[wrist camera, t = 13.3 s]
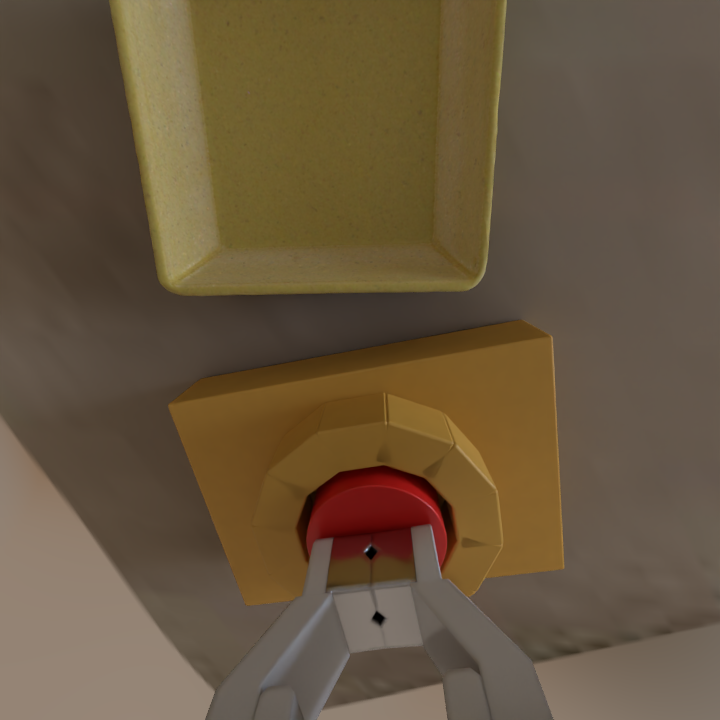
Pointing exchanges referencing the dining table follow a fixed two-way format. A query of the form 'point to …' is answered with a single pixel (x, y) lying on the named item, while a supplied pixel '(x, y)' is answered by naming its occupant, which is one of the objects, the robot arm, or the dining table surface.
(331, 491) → the stop button
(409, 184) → the yellow square tray
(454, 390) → the yellow button base
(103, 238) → the dining table surface
